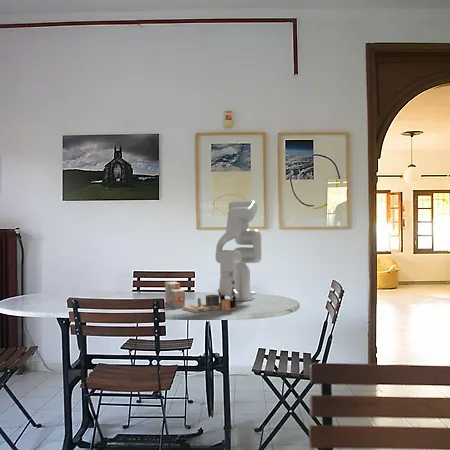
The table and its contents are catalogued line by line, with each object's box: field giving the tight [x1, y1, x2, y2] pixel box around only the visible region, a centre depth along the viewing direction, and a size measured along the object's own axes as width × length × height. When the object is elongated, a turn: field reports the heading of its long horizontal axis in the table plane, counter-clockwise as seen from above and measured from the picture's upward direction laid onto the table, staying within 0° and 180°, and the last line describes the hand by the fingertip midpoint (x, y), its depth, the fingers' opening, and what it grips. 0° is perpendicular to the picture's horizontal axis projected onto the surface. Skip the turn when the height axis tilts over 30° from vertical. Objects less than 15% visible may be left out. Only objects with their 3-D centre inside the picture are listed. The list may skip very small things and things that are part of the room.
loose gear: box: [221, 298, 236, 311], centre depth 259 cm, size 7×7×5 cm
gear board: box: [182, 294, 222, 313], centre depth 263 cm, size 22×13×7 cm, turn 128°
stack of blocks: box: [164, 280, 186, 309], centre depth 277 cm, size 21×6×12 cm, turn 20°
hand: (227, 306), depth 259 cm, fingers open, 8 cm apart
